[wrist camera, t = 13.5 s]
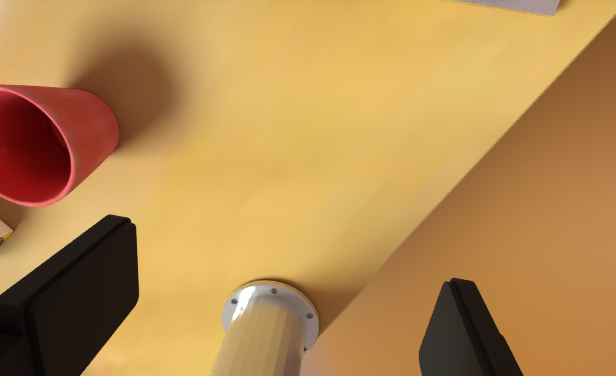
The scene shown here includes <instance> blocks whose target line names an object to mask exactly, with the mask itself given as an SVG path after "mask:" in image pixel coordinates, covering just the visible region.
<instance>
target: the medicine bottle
mask: <svg viewBox="0 0 616 376" xmlns="http://www.w3.org/2000/svg"><path fill="white" fill-rule="evenodd" d="M12 233H13V230H12V229H11V228H10V227H9V226H8V225H6V224H5V223H4V222H3V221H2V220H1V219H0V245H1V244H2V243H3V242H4V241H5V240H6V239H7V238H8V237H9V236H10V235H11V234H12Z"/></svg>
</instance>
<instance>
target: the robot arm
mask: <svg viewBox="0 0 616 376" xmlns="http://www.w3.org/2000/svg"><path fill="white" fill-rule="evenodd" d="M138 298H139V281H138V258H137V236H136V226H135V224H133V223H131V220H130V219H129V218H127V217H122V216H116V215H107V216H105V217H104V218H103V219H101V220H100V221H99V222H97V223H96V224H95V225H93V226H92V227H91V228H89V229H88V230H87V231H85V232H84V233H83V234H81V235H80V236H79V237H77V238H76V239H75V240H73V241H72V242H71V243H69V244H68V245H67V246H65V247H64V248H63V249H61V250H60V251H58V252H57V253H56V254H54V255H53V256H52V257H50V258H49V259H48V260H46V261H45V262H44V263H42V264H41V265H40V266H38V267H37V268H36V269H34V270H33V271H32V272H30V273H29V274H28V275H26V276H25V277H24V278H22V279H21V280H20V281H18V282H17V283H16V284H14V285H13V286H12V287H10V288H9V289H7V290H6V291H5V292H3V293H2V294H1V295H0V376H80V375H81V374H82V373H83V371H84V370H85V369H86V368H87V366H88V365H89V364H90V363H91V361H92V360H93V359H94V357H95V356H96V355H97V354H98V352H99V351H100V350H101V349H102V347H103V346H104V345H105V344H106V342H107V341H108V340H109V339H110V337H111V336H112V335H113V333H114V332H115V331H116V330H117V328H118V327H119V326H120V325H121V323H122V322H123V321H124V320H125V318H126V317H127V316H128V315H129V313H130V312H131V311H132V309H133V308H134V307H135V305H136V304H137V301H138ZM222 325H223V328H224V331H225V333H226V334H225V337H224V339H223V341H222V344H221V346H220V349H219V351H218V353H217V356H216V358H215V361H214V363H213V365H212V368H211V370H210V373H209V375H208V376H300V372H301V364H302V357H303V355H304V354H305V353H307V352H308V351H309V350H310V349H311V348H312V347H313V345H314V344H315V342H316V340H317V337H318V334H319V317H318V313H317V311H316V309H315V307H314V305H313V303H312V302H311V301H310V300H309V299H308V297H306V296H305V295H304V294H303V293H302V292H301V291H299V290H297V289H296V288H294V287H292V286H290V285H287V284H285V283H281V282H277V281H269V280H261V281H254V282H250V283H246V284H244V285H242V286H240V287H239V288H237V289H236V290H235V291H233V292H232V294H231V295H230V296H229V297H228V299H227V301H226V303H225V305H224V308H223V311H222ZM419 363H420V368H421V372H422V376H523V374H522V372H521V370H520V368H519V366H518V364H517V362H516V360H515V358H514V356H513V354H512V352H511V350H510V348H509V346H508V344H507V342H506V340H505V338H504V337H503V336H502V335H501V334H500V333H499V331H498V329H497V327H496V325H495V323H494V321H493V319H492V317H491V315H490V313H489V311H488V309H487V306H486V304H485V303H484V300H483V299H482V296H481V294H480V292H479V290H478V289H477V286H476V284H475V283H474V282H473V281H469V280H463V279H458V278H452V279H451V280H450V282H444V283H443V286H442V288H441V291H440V294H439V297H438V299H437V302H436V305H435V308H434V311H433V313H432V316H431V319H430V322H429V325H428V328H427V330H426V333H425V336H424V339H423V341H422V344H421V347H420V350H419Z"/></svg>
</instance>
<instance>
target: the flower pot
mask: <svg viewBox="0 0 616 376" xmlns="http://www.w3.org/2000/svg"><path fill="white" fill-rule="evenodd" d="M118 141H119V125H118V121H117V119H116V116H115V115H114V113H113V111H112V110H111V108H110V107H109V106H108V105H107V104H106V103H105V102H104V101H103V100H102V99H101V98H99V97H98V96H96V95H94V94H92V93H90V92H87V91H84V90H78V89H67V88H57V87H42V86H24V85H0V196H1V197H3V198H5V199H7V200H9V201H11V202H14V203H17V204H20V205H25V206H33V207H40V206H47V205H50V204H53V203H56V202H58V201H60V200H61V199H62V198H64V197H65V196H67V195H68V194H69V193H70V192H71V191H73V190H74V189H75V188H76V187H77V186H78V185H79V184H80V183H82V182H83V181H84V180H85V179H86V178H87V177H88V176H89V175H90V174H91V173H92V172H93V171H94V170H95V169H97V168H98V167H99V166H100V165H101V164H102V163H103V161H104V160H105V159H106V158H107V157H108V156H109V155H110V154H111V153H112V152H113V151H114V150H115V148H116V146H117V144H118Z"/></svg>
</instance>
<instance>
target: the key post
mask: <svg viewBox="0 0 616 376" xmlns="http://www.w3.org/2000/svg"><path fill="white" fill-rule="evenodd" d="M442 1H449V2H455V3H462V4H468V5H474V6H481V7H487V8H494V9H500V10H507V11H513V12H520V13H526V14H533V15H539V16H554V15H555V12H556V10H557V7H558V4H559V1H560V0H442Z"/></svg>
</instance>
